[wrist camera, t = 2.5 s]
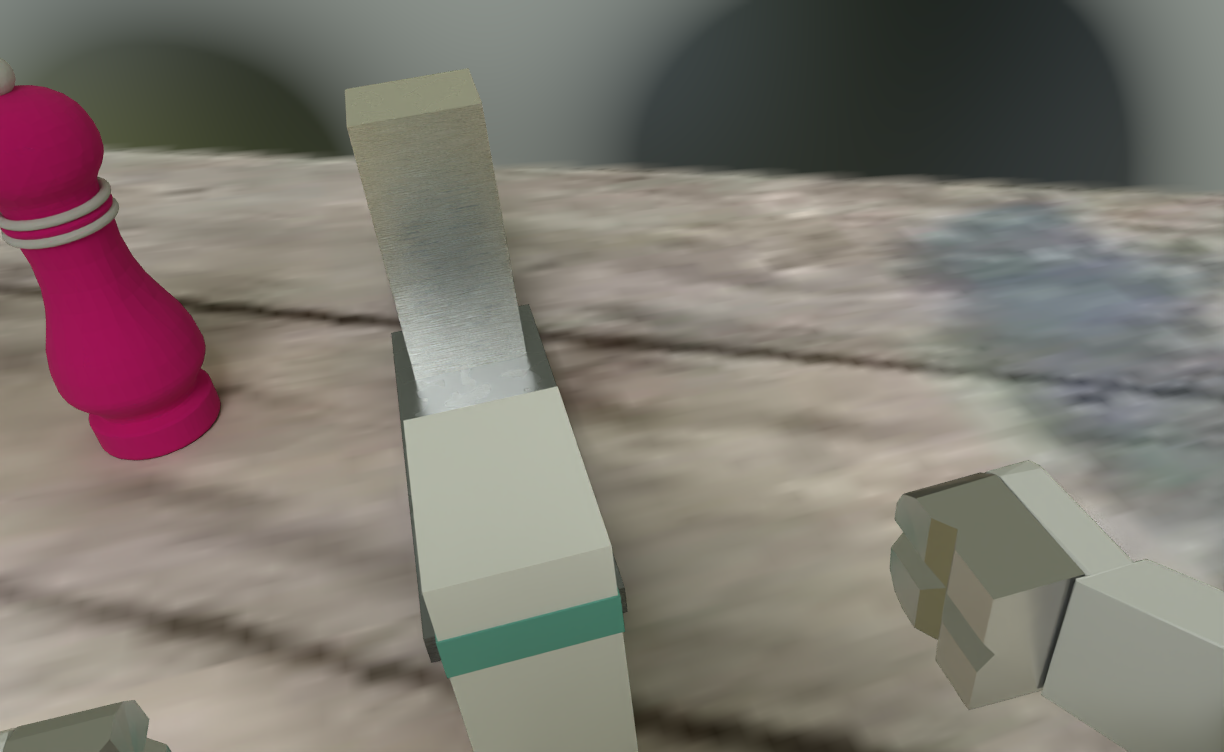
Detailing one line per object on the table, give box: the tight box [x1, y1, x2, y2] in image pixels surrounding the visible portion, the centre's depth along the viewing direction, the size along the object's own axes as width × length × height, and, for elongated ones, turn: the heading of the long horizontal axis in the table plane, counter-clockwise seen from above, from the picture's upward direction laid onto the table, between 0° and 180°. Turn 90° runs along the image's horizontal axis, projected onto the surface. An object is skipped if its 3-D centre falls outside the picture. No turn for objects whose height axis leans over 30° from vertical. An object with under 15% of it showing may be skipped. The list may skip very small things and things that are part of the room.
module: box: [403, 386, 638, 752], centre depth 28 cm, size 7×5×14 cm
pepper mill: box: [0, 58, 220, 460], centre depth 45 cm, size 7×7×20 cm
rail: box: [345, 69, 627, 663], centre depth 41 cm, size 22×8×16 cm, turn 14°
